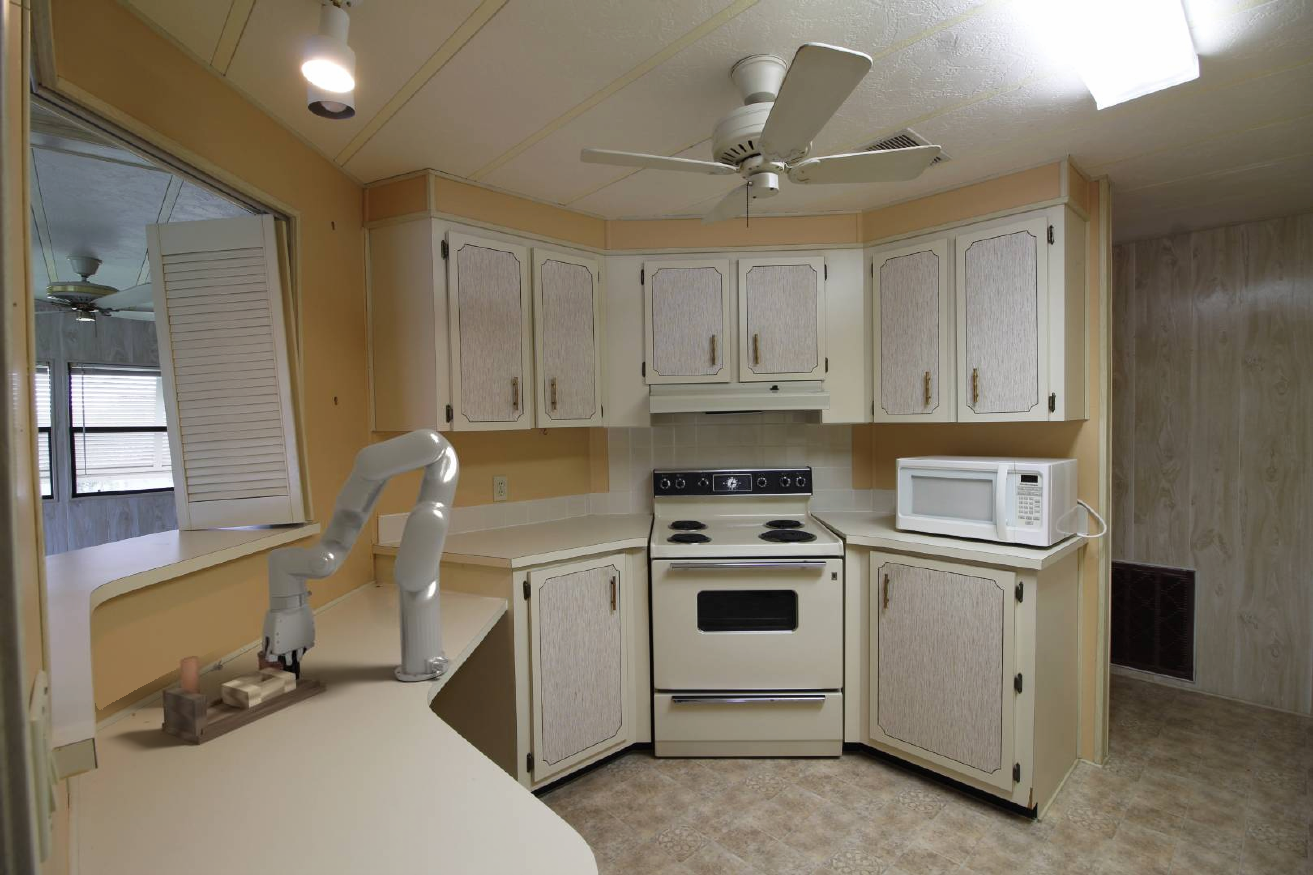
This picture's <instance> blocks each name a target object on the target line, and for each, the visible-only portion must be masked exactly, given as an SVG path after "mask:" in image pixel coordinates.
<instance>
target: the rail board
mask: <svg viewBox="0 0 1313 875" xmlns="http://www.w3.org/2000/svg"><path fill="white" fill-rule="evenodd" d="M326 690H327V683H326V682H321V681H320V680H319V679H316V680H313V679H309V678H305V677H302V676H299V679H298V680H296V689H293V690H291V691H289V692H286V693H284V694H281V695H279V696H276V697H274V698H272V699H269V700H267V701H264V702H262V703H259V704H257V705H255V706H252V707H250V708H247V709H242V708H238V707H235V706H232V705H229V704H226V703H223V701H222V696H220V697H218V698H215V699H213V700H210V701H207V696H206V695H203V694H201V693H200V694H197V693H194V692H191V691H188V690H184V689H182V687H178V686H174V685H173V686H171V687H168V688H165V689H162V703H163V722H162V723H161V730H162V732H165V733H167V734H170V735H173V736H174V737H175V736H176V737H178V738H180V739H183V740H185V741H188V742H191V743H194V744H196V745H199V746H200V745H203V744H205V743H207V742H209V741H212V740H214V739H216V738H219V737H221V736H223V735H226V734H228V733H231V732H232V731H235V730H237V729H240V728H242V727H243V726H246V725H249V724H251V723H254V722H256V721H258V720H261V719H263V718H265V717H267V716H270V715H271V714H273V713H276V712H279V711H282V710H283V709H285V708H288V707H290V706H292V705H295V704H297V703H299V702H301V701H304V700H307V699H309V698H310V697H313V696H316V695H318V694H320V693H322V692H325V691H326Z"/></svg>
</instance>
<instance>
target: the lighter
mask: <svg viewBox="0 0 1313 875" xmlns="http://www.w3.org/2000/svg"><path fill="white" fill-rule="evenodd" d="M266 654H267V653H264V652H263V650H260V651H258V652H257V654H256V655H257V658H258V671H260V670H262V669H265V668H268V667H270V668H274V669H278V670H282V671H283V664H281V663H280V662H278V661H274V662H268V661H266Z"/></svg>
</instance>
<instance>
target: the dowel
mask: <svg viewBox="0 0 1313 875" xmlns="http://www.w3.org/2000/svg"><path fill="white" fill-rule="evenodd" d="M199 663H200V662H199V656H198V655H197V656H196V655H195V656H194V655H192V656H188V657H184V658H181V659H180V661H179V664H180V681H181V682H180V683H181V689H184V690H188V691H191V692H194V693H197V694H200V695H201V684H200V682H201V681H200V667H199V665H200V664H199Z"/></svg>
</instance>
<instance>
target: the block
mask: <svg viewBox="0 0 1313 875" xmlns="http://www.w3.org/2000/svg"><path fill="white" fill-rule="evenodd" d="M293 689H296V677H295V674H294V673H290V672H286V671H282V670H278V669H274V668H270V667H268V668H265V669H262V670H260V671H259V670H257V671H255V672H254V671H253V672H252V673H249V674H245V675H244V676H240V677H238V678H235V679H232V680H230V681H227V682H224V683H222V684H221V695H222V696H221V697H222V701H223V703H226V704H229V705H232V706H235V707H238V708H242V709H247V708H250V707H252V706H255V705H257V704H259V703H262V702H264V701H267V700H269V699H272V698H274V697H276V696H279V695H281V694H284V693H286V692H289V691H291V690H293Z"/></svg>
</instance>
